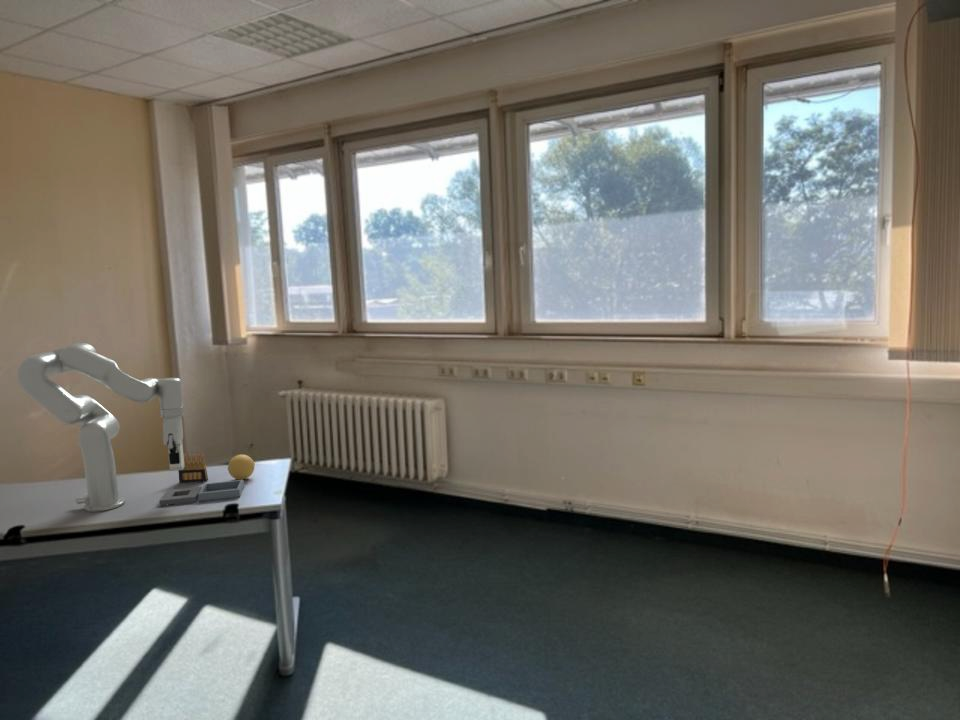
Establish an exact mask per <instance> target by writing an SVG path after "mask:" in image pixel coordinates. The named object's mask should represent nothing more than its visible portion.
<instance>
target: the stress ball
mask: <svg viewBox="0 0 960 720" xmlns="http://www.w3.org/2000/svg"><path fill="white" fill-rule="evenodd" d="M227 471H228V473H229V475H230V476H231V477H232V478H233V479H234V480H235V479H236V480H243V479H245V480H246V479H248V478H249V477H251V476H252V474H253V472H254V471H255V460H253V459H252V457H250V455H248V454H241V453H240V454H237V455H235V456H234V457H232V458H231V459H230V460H229V462H228V464H227Z"/></svg>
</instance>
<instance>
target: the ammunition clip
mask: <svg viewBox="0 0 960 720" xmlns="http://www.w3.org/2000/svg"><path fill="white" fill-rule="evenodd" d="M191 454H192V455H191ZM191 454H190V452H188V453H187V456H186V453H185V452H183V456H184V466H185V467H184V468H183V469H182V470H178V482H179V484H188V483H204V482H203V481H206V482H208V481H209V476H208V471H207V466H206V460H205V455H204V452H203V451H201V453H200V454H199V452H198V451H197V452H196V455H195V453H194V452H192V453H191ZM207 480H208V481H207Z"/></svg>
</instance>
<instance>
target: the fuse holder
mask: <svg viewBox="0 0 960 720" xmlns="http://www.w3.org/2000/svg"><path fill="white" fill-rule="evenodd" d="M202 487H203V486H193V487H186V488H176V489H175V488H174V489H167V490H166V491H165V493H164V494H163V495H162V496H161V498H160V499H159V501H158V503H159V506H160V505H165V506H168V505H167V504H174V505H180V504H179V503H183V504H190V502H192V503H197V501H198V500H199V498H198V493H199V492H200V490H201V488H202ZM197 499H198V500H197Z"/></svg>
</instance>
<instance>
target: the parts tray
mask: <svg viewBox="0 0 960 720" xmlns="http://www.w3.org/2000/svg"><path fill="white" fill-rule="evenodd" d="M201 487H202V488H201V490H200V492H199V493H198V502H199V503H200V501H202V502H208V500H211V501H217V500H219V499H220V500H226V499H228V498H229V499H235V498H236V497H238V498H241V496H242V494H243V492H242V491H244V489H245V480H239V479H236V480H235V479H234V480H227V481H218V482H205V483H204V484H203V485H202V486H201ZM241 493H242V494H241ZM220 500H219V501H220Z"/></svg>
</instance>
